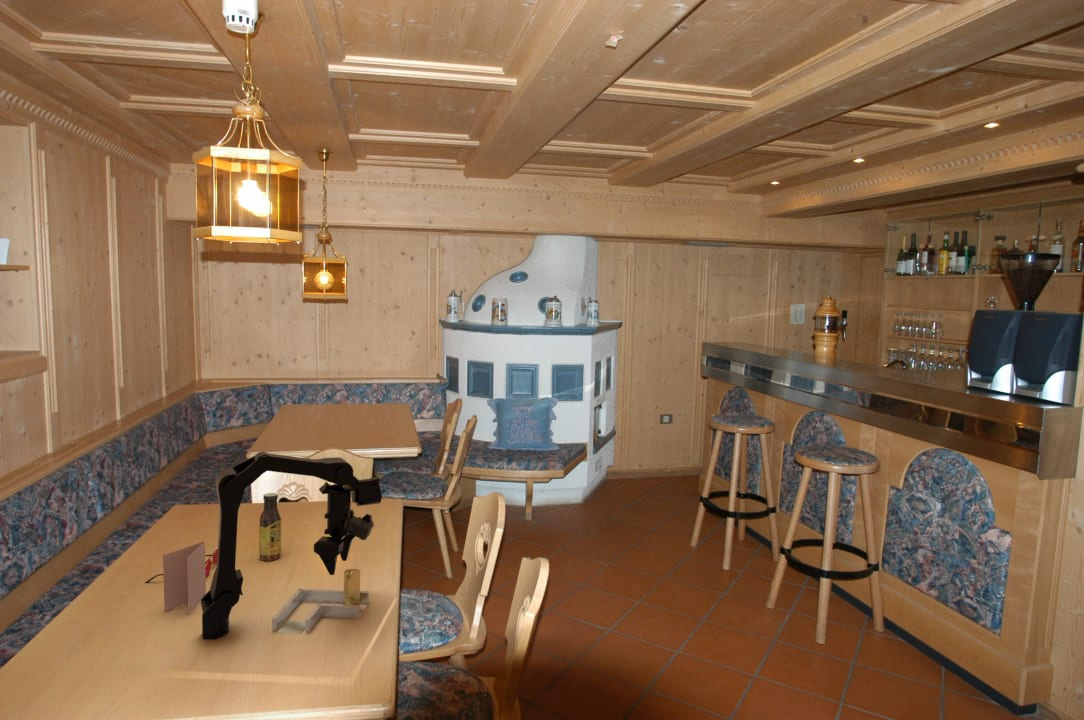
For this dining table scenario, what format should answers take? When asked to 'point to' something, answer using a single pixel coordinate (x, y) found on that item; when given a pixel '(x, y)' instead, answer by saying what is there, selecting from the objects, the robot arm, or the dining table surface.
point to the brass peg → (352, 587)
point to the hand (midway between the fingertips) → (338, 567)
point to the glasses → (208, 566)
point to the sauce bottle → (270, 529)
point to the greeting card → (184, 577)
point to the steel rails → (319, 606)
